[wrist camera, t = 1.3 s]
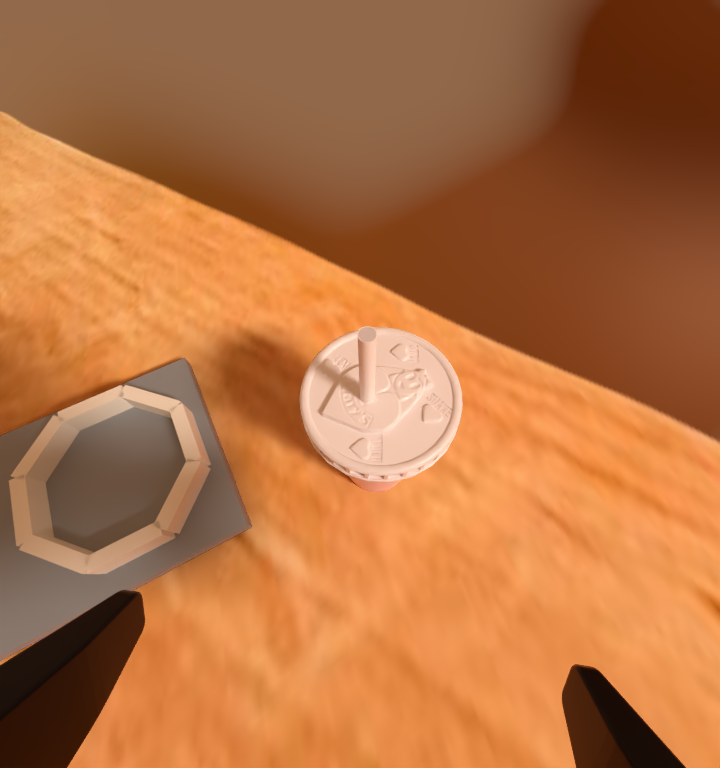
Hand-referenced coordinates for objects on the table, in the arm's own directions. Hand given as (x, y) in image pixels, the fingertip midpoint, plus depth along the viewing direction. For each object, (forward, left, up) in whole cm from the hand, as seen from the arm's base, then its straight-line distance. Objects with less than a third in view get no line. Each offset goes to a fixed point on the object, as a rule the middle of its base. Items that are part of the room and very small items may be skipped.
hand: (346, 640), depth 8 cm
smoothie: (+7, +4, -14) cm, 16 cm away
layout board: (-9, +17, -14) cm, 24 cm away
